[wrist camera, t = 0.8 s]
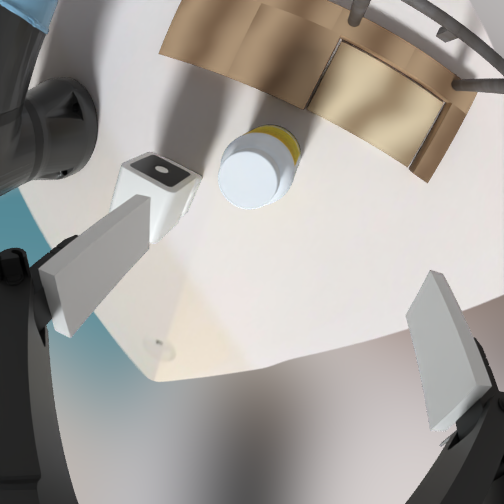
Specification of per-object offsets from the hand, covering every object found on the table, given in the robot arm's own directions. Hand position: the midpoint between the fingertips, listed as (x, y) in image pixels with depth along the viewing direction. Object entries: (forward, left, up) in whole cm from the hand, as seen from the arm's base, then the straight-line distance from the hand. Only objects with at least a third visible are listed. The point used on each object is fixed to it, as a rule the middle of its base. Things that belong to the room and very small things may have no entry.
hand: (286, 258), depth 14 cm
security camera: (-13, -9, -22) cm, 28 cm away
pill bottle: (-4, -1, -22) cm, 23 cm away
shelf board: (-4, +11, -22) cm, 25 cm away
